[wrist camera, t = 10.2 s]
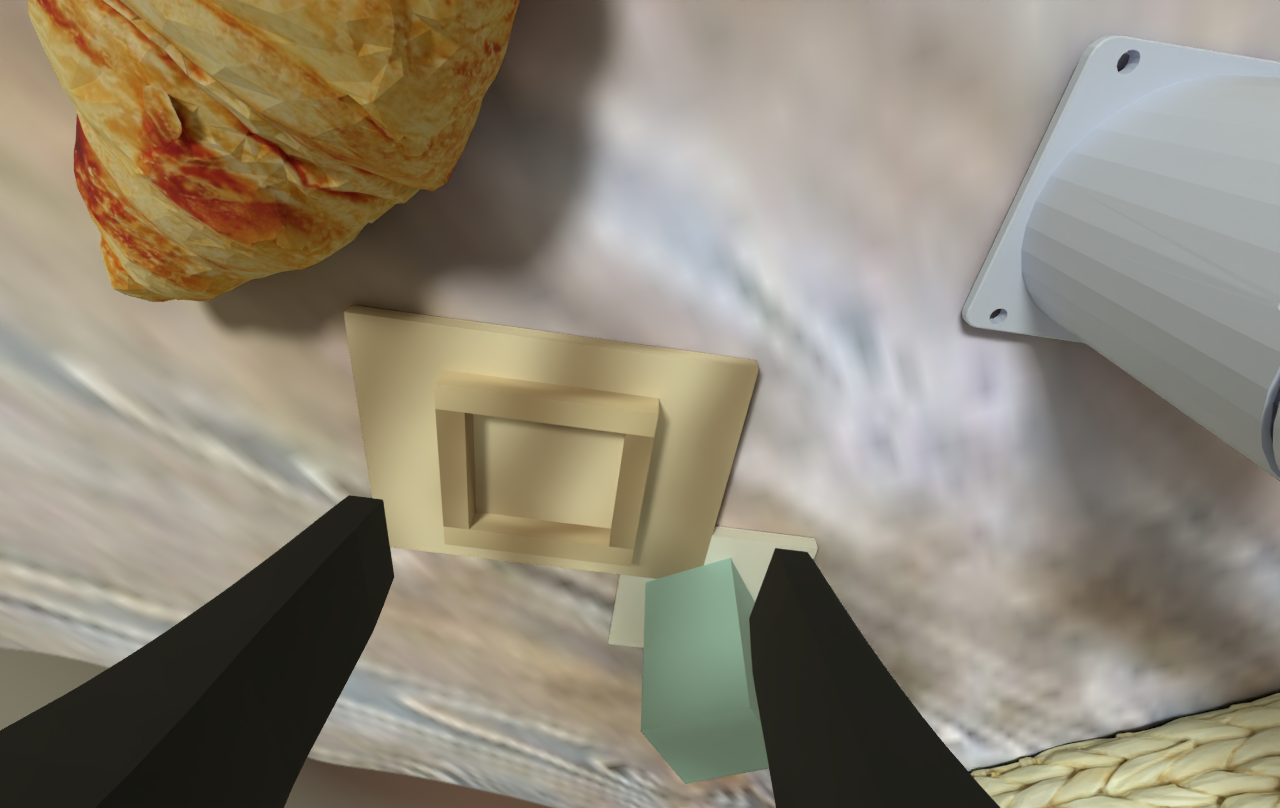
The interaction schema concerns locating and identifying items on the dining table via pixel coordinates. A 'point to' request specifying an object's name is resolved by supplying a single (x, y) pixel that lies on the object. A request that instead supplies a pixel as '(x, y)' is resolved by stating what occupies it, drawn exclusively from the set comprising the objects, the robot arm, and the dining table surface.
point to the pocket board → (545, 442)
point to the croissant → (261, 124)
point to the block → (701, 674)
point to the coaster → (738, 544)
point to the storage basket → (1155, 766)
